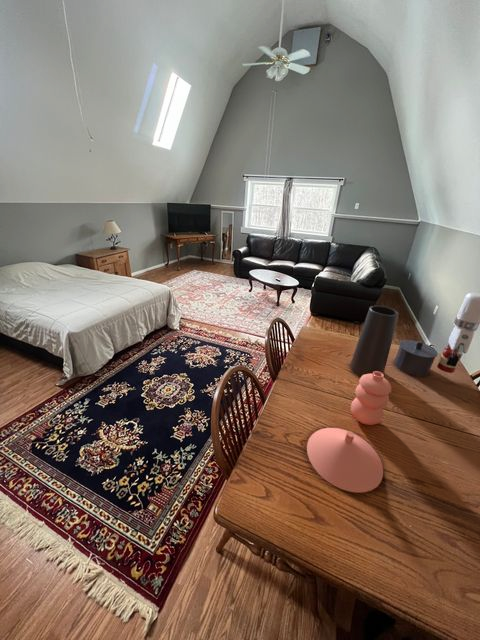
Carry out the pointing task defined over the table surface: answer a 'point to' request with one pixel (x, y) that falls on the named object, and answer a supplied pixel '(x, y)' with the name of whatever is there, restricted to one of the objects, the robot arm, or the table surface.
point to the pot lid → (418, 349)
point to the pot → (413, 363)
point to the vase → (374, 341)
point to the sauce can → (444, 359)
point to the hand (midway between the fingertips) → (449, 360)
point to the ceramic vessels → (352, 441)
